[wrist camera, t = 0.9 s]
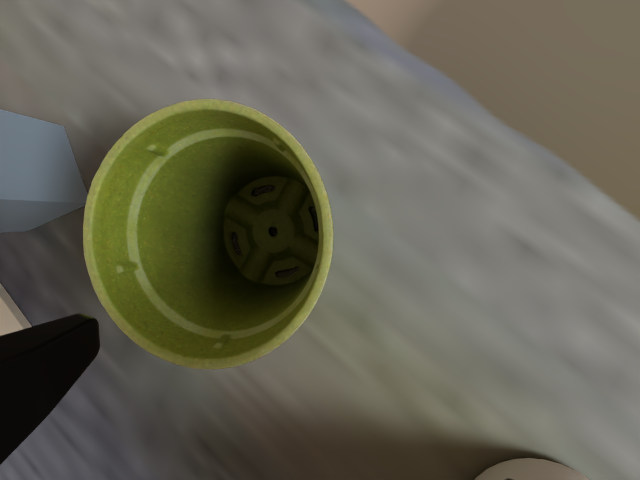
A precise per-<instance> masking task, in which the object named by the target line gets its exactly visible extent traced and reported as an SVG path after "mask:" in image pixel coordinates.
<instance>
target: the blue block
mask: <svg viewBox="0 0 640 480" xmlns="http://www.w3.org/2000/svg"><path fill="white" fill-rule="evenodd" d="M87 196H88V194H87V191H86V189H85V186H84V183H83V180H82V177H81V174H80V172H79V169H78V166H77V163H76V160H75V157H74V155H73V152H72V149H71V146H70V143H69V140H68V138H67V135H66V132H65V129H64V126H61V125H58V124H54V123H50V122H46V121H43V120H39V119H35V118H31V117H28V116H24V115H20V114H16V113H13V112H9V111H5V110H1V109H0V233H2V232H27V231H29V230H32V229H34V228H36V227H38V226H41V225H43V224H45V223H47V222H50V221H52V220H54V219H56V218H59V217H61V216H63V215H65V214H68V213H70V212H72V211H74V210H77V209H79V208H81V207H83V206H85V205H86V201H87Z"/></svg>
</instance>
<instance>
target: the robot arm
mask: <svg viewBox="0 0 640 480" xmlns="http://www.w3.org/2000/svg"><path fill="white" fill-rule="evenodd" d="M99 348H100V339H99V324H98V321H97V320H96V319H95V318H92V317H90V316H87V315H85V314H74V315H71V316H67V317H64V318H61V319H57V320H54V321H50V322H47V323H43V324H40V325H36V326H33V327H29V328H26V329H22V330H19V331H15V332H12V333H8V334H5V335H1V336H0V465H1V464H2V462H3V461H4V460H5V459H6V458H7V457H8V456H9V455H10V454H11V453H12V452H13V451H14V450H15V449H16V448H17V447H18V446H19V445H20V444H21V443H22V442H23V441H24V440H25V439H26V438H27V437H28V436H29V435H30V434H31V433H32V432H33V431H34V430H35V428H36V427H37V426H38V425H39V424H40V423H41V422H42V421H43V420H44V419H45V418H46V417H47V416H48V415H49V414H50V412H51V411H52V410H53V409H54V408H55V407H56V405H57V404H58V403H59V402H60V401H61V399H62V398H63V397H64V396H65V394H66V393H67V392H68V391H69V389H70V388H71V387H72V386H73V384H74V383H75V382H76V381H77V380H78V378H79V377H80V376H81V375H82V373H83V372H84V371H85V370H86V368H87V367H88V366H89V365H90V363H91V362H92V361H93V360H94V359H95V357H96V356H97V354H98V352H99ZM505 480H513V479H511V478H507V479H505Z"/></svg>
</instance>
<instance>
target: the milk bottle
mask: <svg viewBox="0 0 640 480" xmlns="http://www.w3.org/2000/svg"><path fill="white" fill-rule="evenodd" d="M507 478H511V479H513V480H590V479H588V478H587V477H585V476H584V475H582V474H581V473H579V472H577V471H575V470H573V469H571V468H569V467H566V466H564V465H562V464H559V463H555V462H551V461H548V460H545V459H534V458H522V459H512V460H508V461H504V462H500V463H498V464H496V465H494V466H492V467H490V468H488V469H486V470H485V471H484V472H482V473H481V474H480V475H478V476H477V477H476V478H475V479H474V480H505V479H507Z"/></svg>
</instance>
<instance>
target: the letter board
mask: <svg viewBox="0 0 640 480" xmlns="http://www.w3.org/2000/svg"><path fill="white" fill-rule="evenodd" d="M29 327H32V326H31V324H30V323H29V322H28V320H27V319H26V317H25V316H24V315H23V313H22V312H21V311H20V309H19V308H18V307H17V305H16V304H15V302H14V301H13V300H12V298H11V297H10V296H9V294H8V293H7V291H6V290H5V289H4V287H3V286H2V285H1V283H0V336H1V335H5V334H8V333H12V332H15V331H19V330H22V329H26V328H29Z"/></svg>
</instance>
